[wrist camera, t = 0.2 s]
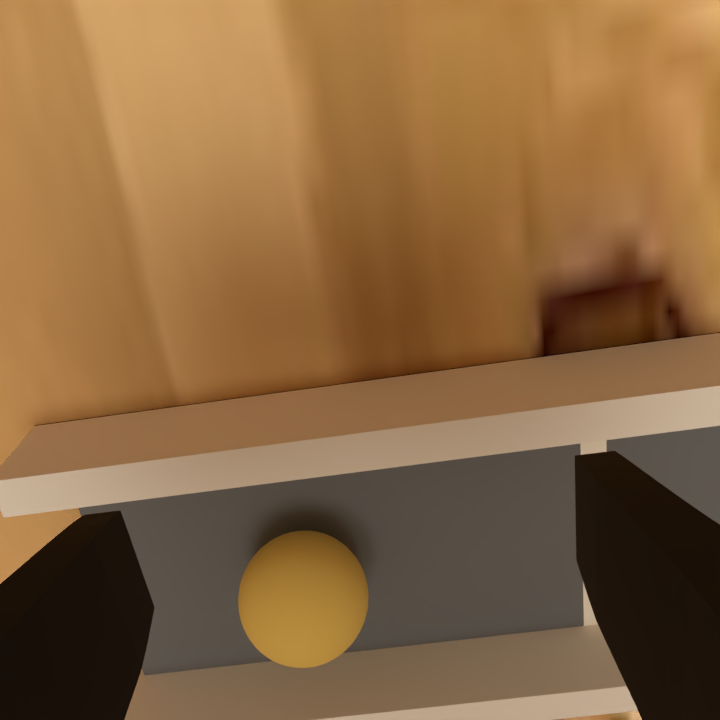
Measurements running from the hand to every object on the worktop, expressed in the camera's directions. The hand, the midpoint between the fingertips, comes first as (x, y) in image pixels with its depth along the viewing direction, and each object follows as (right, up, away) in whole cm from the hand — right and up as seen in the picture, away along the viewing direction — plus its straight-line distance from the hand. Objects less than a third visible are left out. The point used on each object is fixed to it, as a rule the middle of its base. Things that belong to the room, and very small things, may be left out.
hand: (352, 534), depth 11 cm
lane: (+3, -3, +12) cm, 13 cm away
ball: (-2, -4, +12) cm, 13 cm away
